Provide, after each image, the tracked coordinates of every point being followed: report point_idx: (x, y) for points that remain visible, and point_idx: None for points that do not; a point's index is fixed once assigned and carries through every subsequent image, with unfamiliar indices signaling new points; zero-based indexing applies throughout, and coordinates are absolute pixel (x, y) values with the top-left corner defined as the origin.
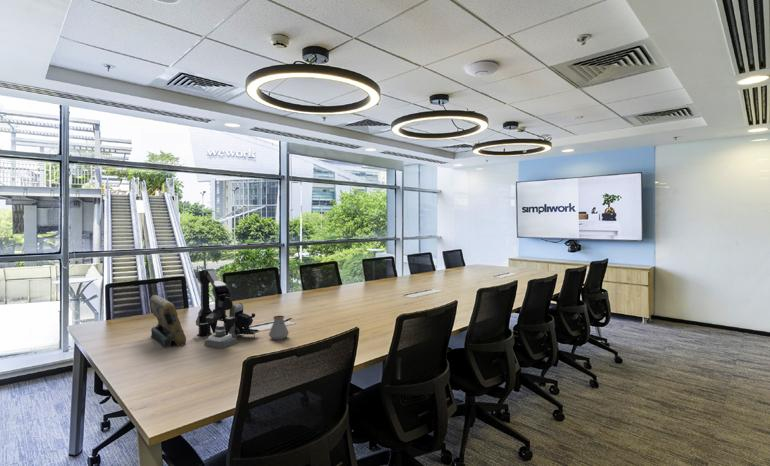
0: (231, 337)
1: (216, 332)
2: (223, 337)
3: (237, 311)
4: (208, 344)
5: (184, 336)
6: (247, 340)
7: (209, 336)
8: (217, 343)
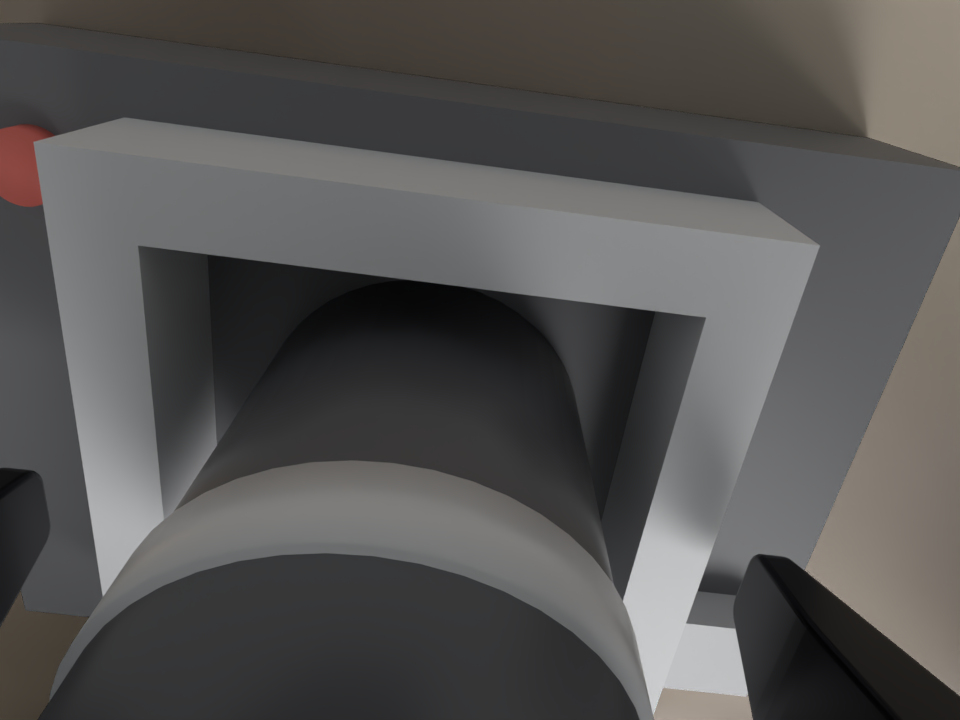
0: None
1: (438, 449)
2: (65, 326)
3: None
4: (693, 116)
5: None
6: None
7: (783, 248)
8: (248, 65)
